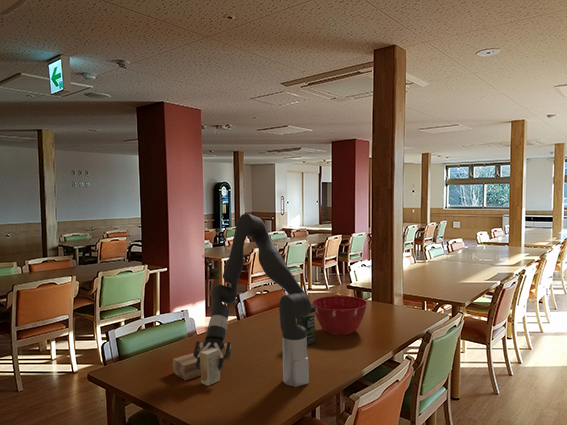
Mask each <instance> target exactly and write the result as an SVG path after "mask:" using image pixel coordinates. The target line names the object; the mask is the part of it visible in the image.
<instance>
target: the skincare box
mask: <svg viewBox="0 0 567 425" xmlns="http://www.w3.org/2000/svg"><path fill="white" fill-rule="evenodd" d="M199 353H200V368H201V376H200V383H201V384H203V385H205V386H207V387H209V386H211V385H213V384H215V383H217V382H219V381H221V370H218V364H219V359H220V356H219V349H216V348H212V347H211V348H209V349H206V350H204V351H202V350H200V351H199Z"/></svg>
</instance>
